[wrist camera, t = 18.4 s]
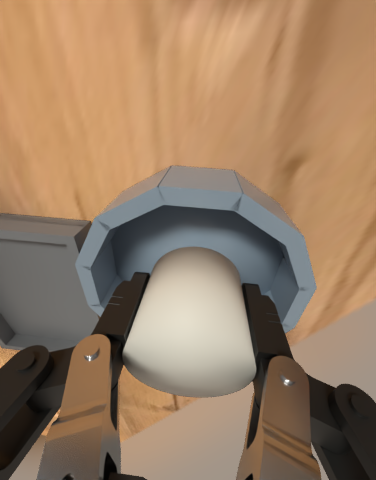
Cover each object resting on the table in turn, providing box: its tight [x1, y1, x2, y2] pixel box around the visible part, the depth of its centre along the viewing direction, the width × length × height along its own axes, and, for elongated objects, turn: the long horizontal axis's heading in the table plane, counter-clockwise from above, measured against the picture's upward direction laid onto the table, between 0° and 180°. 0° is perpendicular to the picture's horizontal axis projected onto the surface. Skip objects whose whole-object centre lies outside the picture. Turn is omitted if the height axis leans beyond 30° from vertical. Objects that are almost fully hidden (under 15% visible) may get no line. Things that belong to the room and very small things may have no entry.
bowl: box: [75, 166, 317, 333], centre depth 16 cm, size 16×16×4 cm
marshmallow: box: [122, 247, 256, 397], centre depth 10 cm, size 5×5×4 cm
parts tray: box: [0, 213, 100, 352], centre depth 21 cm, size 14×18×2 cm
